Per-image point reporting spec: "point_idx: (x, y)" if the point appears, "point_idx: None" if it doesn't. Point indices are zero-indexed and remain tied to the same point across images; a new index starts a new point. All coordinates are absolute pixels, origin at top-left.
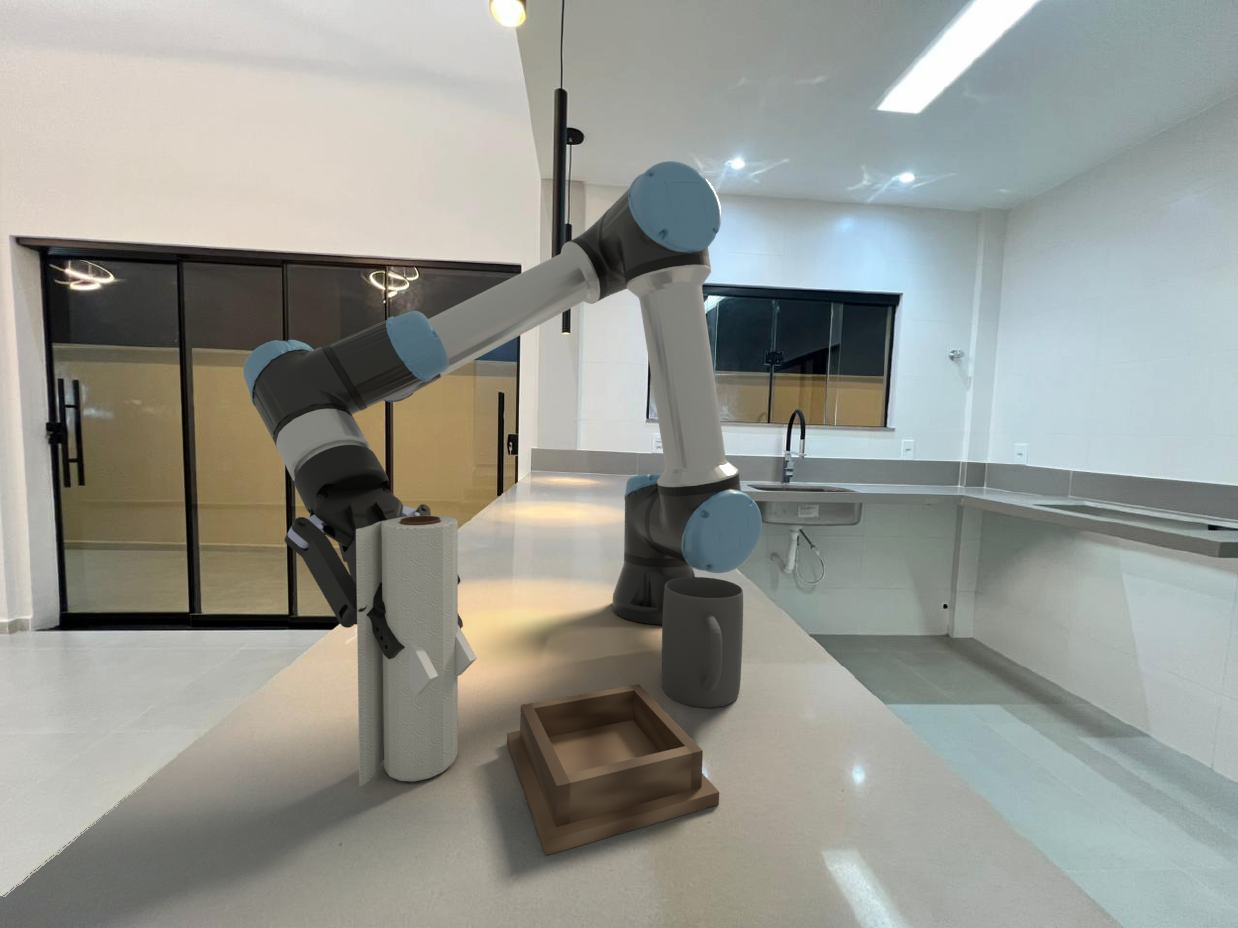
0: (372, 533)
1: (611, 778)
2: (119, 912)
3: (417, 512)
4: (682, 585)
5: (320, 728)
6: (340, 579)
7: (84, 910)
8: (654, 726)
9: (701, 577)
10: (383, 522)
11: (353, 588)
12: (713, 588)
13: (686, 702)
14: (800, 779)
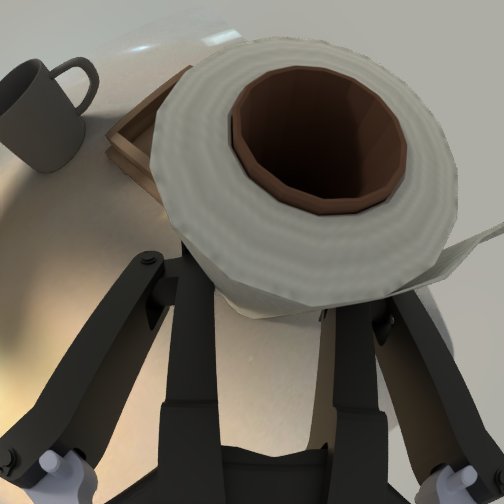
0: (461, 243)
1: None
2: (439, 319)
3: (42, 465)
4: None
5: (269, 422)
6: (428, 325)
7: (446, 336)
8: (153, 110)
9: None
10: (439, 247)
11: (403, 305)
12: None
13: (83, 137)
14: (154, 61)
